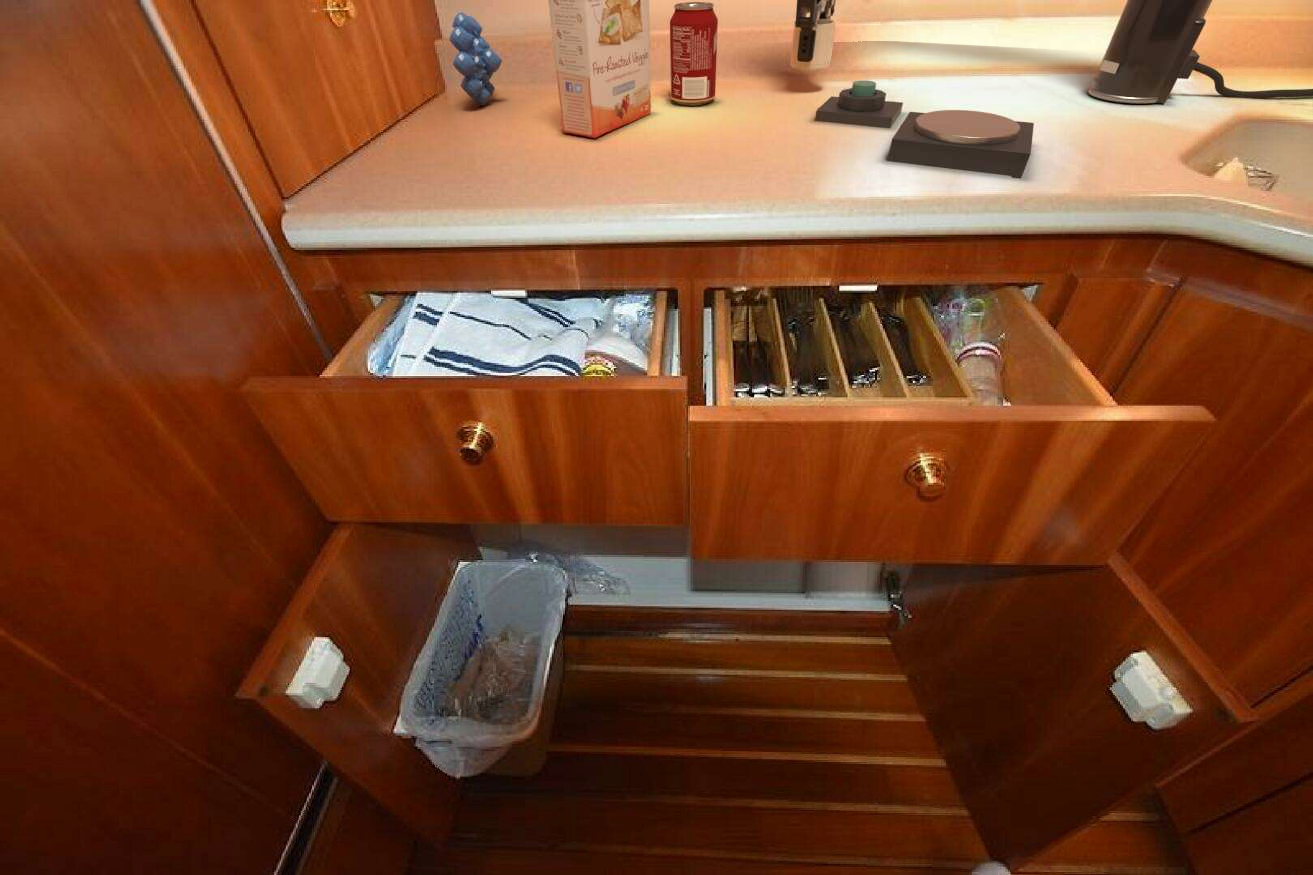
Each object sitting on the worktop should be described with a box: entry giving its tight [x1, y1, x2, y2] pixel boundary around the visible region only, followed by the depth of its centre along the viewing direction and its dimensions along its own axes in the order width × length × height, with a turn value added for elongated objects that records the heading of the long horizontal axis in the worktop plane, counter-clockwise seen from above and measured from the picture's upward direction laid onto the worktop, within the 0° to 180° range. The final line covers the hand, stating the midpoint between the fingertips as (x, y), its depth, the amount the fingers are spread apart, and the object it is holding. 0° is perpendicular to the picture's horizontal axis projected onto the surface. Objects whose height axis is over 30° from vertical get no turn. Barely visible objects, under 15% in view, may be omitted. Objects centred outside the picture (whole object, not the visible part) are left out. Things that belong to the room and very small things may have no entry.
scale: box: [886, 109, 1035, 179], centre depth 68 cm, size 14×12×3 cm
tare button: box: [851, 80, 877, 97], centre depth 78 cm, size 3×3×2 cm
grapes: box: [449, 11, 503, 107], centre depth 87 cm, size 12×7×12 cm, turn 177°
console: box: [814, 87, 904, 129], centre depth 80 cm, size 10×8×3 cm
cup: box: [790, 19, 837, 70], centre depth 88 cm, size 6×6×6 cm
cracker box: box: [548, 0, 652, 139], centre depth 75 cm, size 14×6×21 cm, turn 148°
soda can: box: [669, 1, 719, 107], centre depth 85 cm, size 7×7×12 cm
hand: (810, 56), depth 89 cm, fingers closed on cup, 6 cm apart
